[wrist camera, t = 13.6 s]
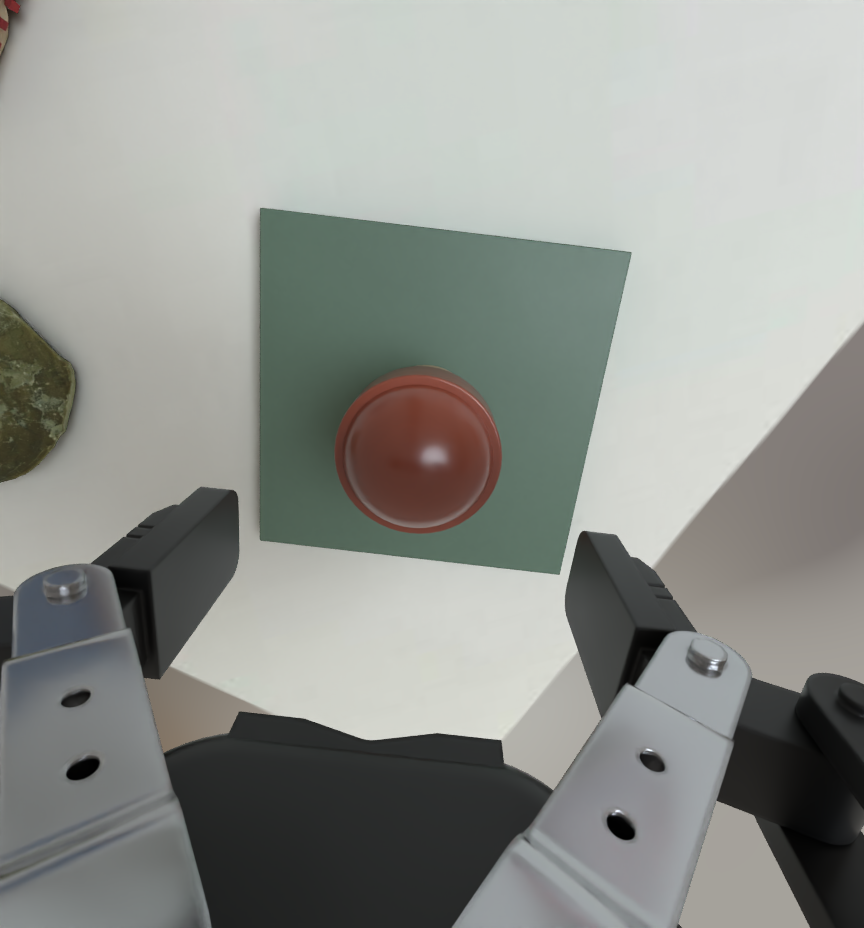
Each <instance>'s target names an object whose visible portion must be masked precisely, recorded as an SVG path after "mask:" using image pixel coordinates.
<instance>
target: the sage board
mask: <svg viewBox="0 0 864 928" xmlns="http://www.w3.org/2000/svg"><path fill="white" fill-rule="evenodd" d="M630 258H631V252H625V251H617V250H608V249H600V248H592V247H583V246H575V245H567V244H558V243H550V242H542V241H533V240H525V239H517V238H508V237H500V236H492V235H483V234H475V233H467V232H458V231H450V230H442V229H433V228H425V227H417V226H408V225H400V224H392V223H383V222H375V221H367V220H358V219H350V218H342V217H333V216H325V215H317V214H309V213H300V212H292V211H284V210H275V209H267V208H260V540H261V541H270V542H279V543H287V544H296V545H305V546H313V547H322V548H331V549H340V550H348V551H357V552H366V553H374V554H383V555H392V556H401V557H409V558H418V559H427V560H435V561H444V562H453V563H462V564H470V565H479V566H488V567H496V568H505V569H514V570H523V571H531V572H540V573H549V574H558V575H559V574H560V570H561V566H562V561H563V557H564V552H565V548H566V543H567V539H568V535H569V530H570V526H571V521H572V517H573V512H574V508H575V503H576V499H577V494H578V490H579V485H580V481H581V477H582V472H583V468H584V463H585V459H586V454H587V450H588V445H589V441H590V436H591V432H592V427H593V423H594V418H595V414H596V410H597V405H598V401H599V396H600V392H601V387H602V383H603V378H604V374H605V369H606V365H607V360H608V356H609V352H610V347H611V343H612V338H613V334H614V329H615V325H616V320H617V316H618V311H619V307H620V302H621V298H622V294H623V289H624V285H625V280H626V276H627V271H628V267H629V262H630ZM417 365H433V366H438V367H441V368H444V369H446V370H448V371H450V372H452V373H453V374H455V375H457V376H459V377H461V378H462V379H464V380H465V381H467V382H468V383H469V384H471V385H472V386H473V387H474V388H475V389H476V390H477V391H478V392H479V393H480V394H481V396H482V397H483V398H484V400H485V401H486V403H487V404H488V406H489V408H490V410H491V412H492V414H493V417H494V420H495V423H496V427H497V430H498V433H499V436H500V441H501V446H502V464H501V470H500V475H499V479H498V481H497V484H496V486H495V488H494V490H493V492H492V494H491V496H490V497H489V499H488V500H487V501H486V503H485V504H484V505H483V506H482V507H481V508H480V509H479V510H478V511H477V512H476V513H475V514H474V515H473V516H471V517H470V518H469V519H467V520H465V521H464V522H462V523H461V524H459V525H456V526H454V527H452V528H449V529H446V530H443V531H439V532H434V533H425V534H415V533H406V532H400V531H396V530H393V529H390V528H387V527H385V526H383V525H380V524H379V523H377V522H375V521H373V520H372V519H370V518H369V517H368V516H366V515H365V514H364V513H362V512H361V511H360V510H359V509H358V508H357V507H356V506H355V505H354V503H353V502H352V501H351V500H350V498H349V497H348V495H347V494H346V492H345V491H344V489H343V487H342V485H341V482H340V480H339V477H338V474H337V470H336V465H335V457H334V447H335V439H336V435H337V431H338V428H339V425H340V423H341V421H342V418H343V417H344V415H345V413H346V412H347V410H348V408H349V407H350V406H351V405H352V403H353V402H354V401H355V399H356V398H357V397H358V396H359V394H360V393H361V392H362V391H363V390H364V389H365V388H366V387H367V386H368V385H369V384H370V383H371V382H373V381H374V380H376V379H377V378H378V377H380V376H382V375H384V374H386V373H388V372H391V371H393V370H396V369H400V368H405V367H412V366H417Z"/></svg>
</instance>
